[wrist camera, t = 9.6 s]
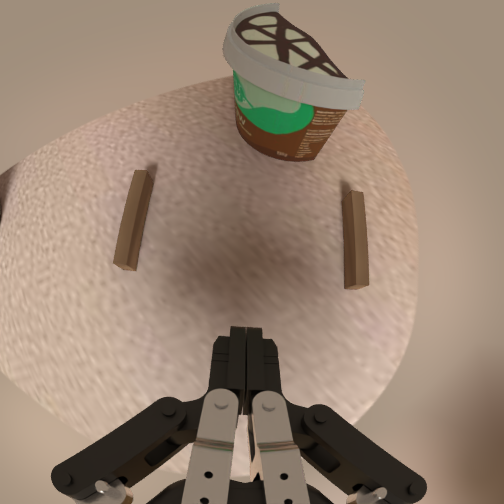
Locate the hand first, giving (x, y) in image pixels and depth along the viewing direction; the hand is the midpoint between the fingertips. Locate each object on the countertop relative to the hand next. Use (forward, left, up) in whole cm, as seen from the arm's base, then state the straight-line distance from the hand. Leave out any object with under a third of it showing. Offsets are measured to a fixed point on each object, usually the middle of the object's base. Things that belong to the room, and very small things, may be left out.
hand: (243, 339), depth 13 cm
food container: (0, +17, -5) cm, 18 cm away
